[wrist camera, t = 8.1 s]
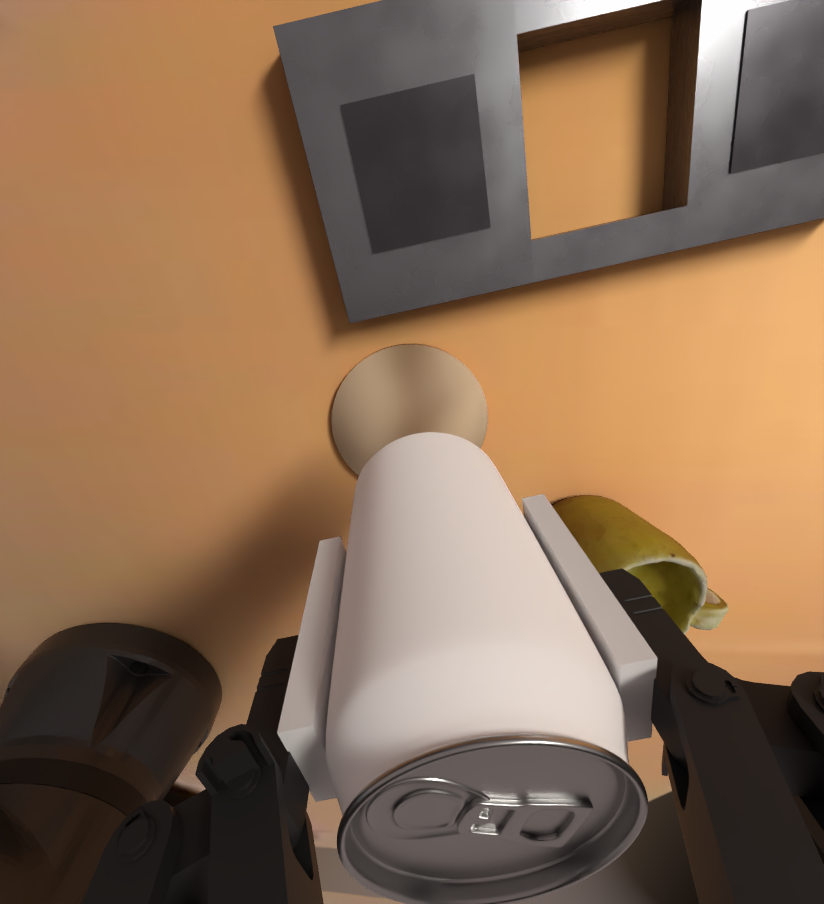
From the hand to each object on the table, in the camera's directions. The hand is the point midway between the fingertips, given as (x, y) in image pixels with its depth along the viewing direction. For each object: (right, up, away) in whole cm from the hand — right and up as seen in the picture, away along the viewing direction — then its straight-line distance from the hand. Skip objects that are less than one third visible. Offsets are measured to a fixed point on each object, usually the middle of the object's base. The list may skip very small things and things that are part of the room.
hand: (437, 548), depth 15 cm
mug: (+13, -4, +17) cm, 22 cm away
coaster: (-1, +5, +12) cm, 13 cm away
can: (0, +2, +4) cm, 4 cm away
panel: (+8, +19, +6) cm, 22 cm away
